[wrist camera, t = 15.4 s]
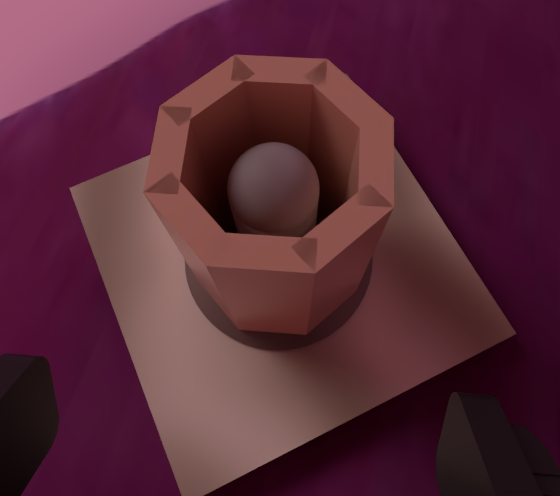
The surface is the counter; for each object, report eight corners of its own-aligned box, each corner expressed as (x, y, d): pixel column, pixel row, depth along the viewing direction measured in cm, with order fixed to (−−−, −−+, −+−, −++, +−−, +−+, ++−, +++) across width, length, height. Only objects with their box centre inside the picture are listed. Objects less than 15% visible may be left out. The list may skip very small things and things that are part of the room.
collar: (358, 191, 21) (393, 62, 14) (354, 338, 19) (394, 279, 12) (211, 182, 22) (169, 51, 14) (191, 326, 20) (129, 261, 12)
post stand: (343, 93, 25) (369, -76, 17) (501, 340, 21) (644, 278, 12) (82, 202, 23) (-35, 74, 15) (193, 499, 19) (113, 554, 10)
